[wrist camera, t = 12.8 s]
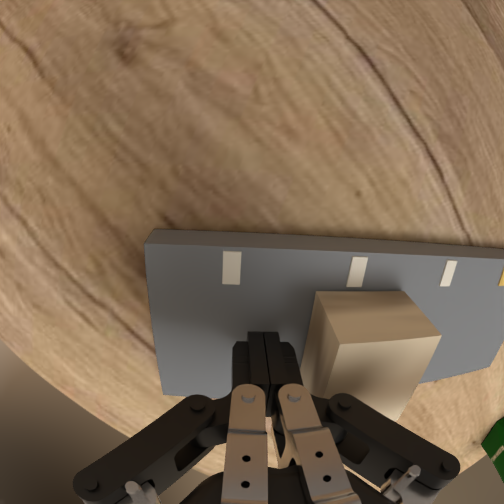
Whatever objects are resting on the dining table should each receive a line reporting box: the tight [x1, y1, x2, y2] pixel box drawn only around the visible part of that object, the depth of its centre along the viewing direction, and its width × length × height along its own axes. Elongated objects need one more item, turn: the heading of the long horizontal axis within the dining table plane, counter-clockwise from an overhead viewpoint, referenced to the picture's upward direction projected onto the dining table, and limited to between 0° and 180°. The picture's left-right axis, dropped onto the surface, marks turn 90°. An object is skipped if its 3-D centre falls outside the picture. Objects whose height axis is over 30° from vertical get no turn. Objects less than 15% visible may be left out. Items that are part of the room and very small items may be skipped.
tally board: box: [144, 229, 504, 398], centre depth 17 cm, size 10×26×2 cm, turn 86°
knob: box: [300, 291, 442, 421], centre depth 14 cm, size 6×5×4 cm
